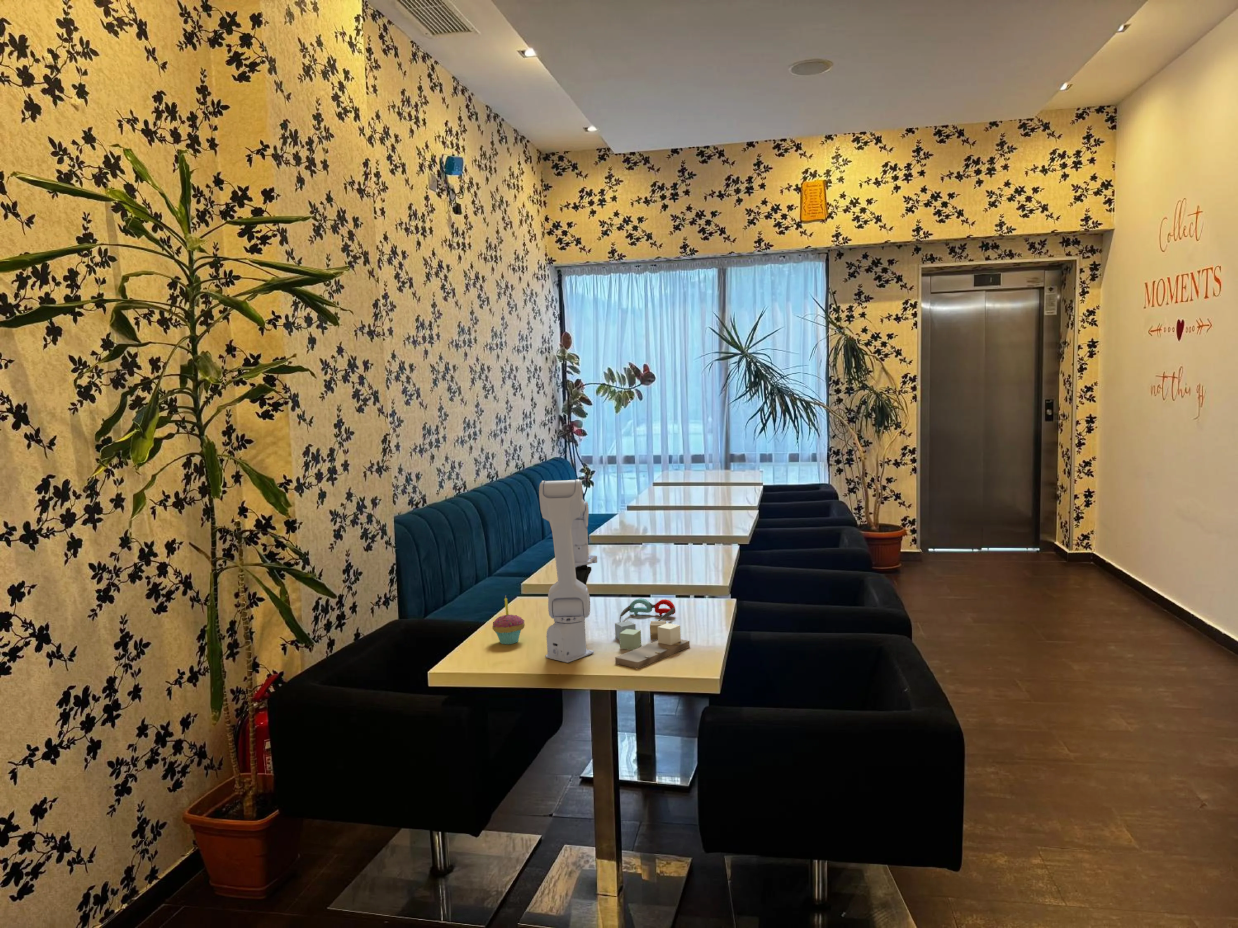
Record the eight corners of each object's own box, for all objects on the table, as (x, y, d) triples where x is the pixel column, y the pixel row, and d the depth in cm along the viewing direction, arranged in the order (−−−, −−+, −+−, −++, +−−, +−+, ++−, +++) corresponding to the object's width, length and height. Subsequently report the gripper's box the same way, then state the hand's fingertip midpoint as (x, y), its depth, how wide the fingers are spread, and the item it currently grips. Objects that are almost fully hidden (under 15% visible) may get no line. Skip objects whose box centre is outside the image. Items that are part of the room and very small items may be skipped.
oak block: (665, 640, 218) (665, 624, 217) (650, 640, 218) (649, 625, 218) (666, 635, 222) (666, 620, 221) (651, 635, 222) (650, 621, 222)
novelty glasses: (677, 616, 241) (676, 599, 241) (661, 631, 227) (660, 612, 227) (631, 614, 246) (630, 597, 246) (613, 628, 232) (612, 610, 232)
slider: (670, 645, 208) (670, 629, 207) (658, 642, 210) (657, 626, 210) (680, 641, 211) (680, 625, 210) (668, 638, 213) (667, 623, 213)
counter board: (638, 668, 196) (637, 661, 196) (615, 663, 201) (615, 656, 200) (689, 646, 211) (689, 640, 211) (667, 642, 215) (667, 635, 215)
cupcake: (490, 639, 225) (487, 595, 224) (521, 635, 228) (519, 591, 227) (497, 648, 217) (494, 602, 216) (529, 643, 220) (527, 598, 219)
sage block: (634, 650, 210) (633, 634, 210) (620, 648, 212) (619, 633, 212) (641, 645, 214) (640, 630, 214) (627, 644, 216) (626, 628, 215)
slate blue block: (622, 641, 218) (621, 626, 218) (615, 638, 222) (614, 623, 221) (636, 639, 220) (635, 623, 220) (628, 635, 224) (628, 620, 223)
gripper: (572, 549, 218) (575, 601, 220) (605, 540, 230) (607, 589, 231) (551, 548, 222) (554, 598, 224) (584, 538, 234) (586, 587, 235)
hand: (579, 594), depth 228 cm, fingers closed
